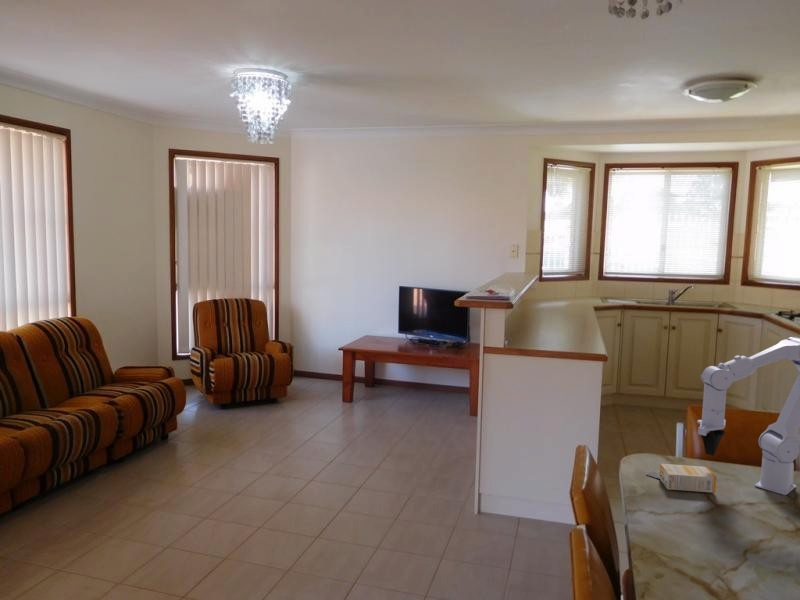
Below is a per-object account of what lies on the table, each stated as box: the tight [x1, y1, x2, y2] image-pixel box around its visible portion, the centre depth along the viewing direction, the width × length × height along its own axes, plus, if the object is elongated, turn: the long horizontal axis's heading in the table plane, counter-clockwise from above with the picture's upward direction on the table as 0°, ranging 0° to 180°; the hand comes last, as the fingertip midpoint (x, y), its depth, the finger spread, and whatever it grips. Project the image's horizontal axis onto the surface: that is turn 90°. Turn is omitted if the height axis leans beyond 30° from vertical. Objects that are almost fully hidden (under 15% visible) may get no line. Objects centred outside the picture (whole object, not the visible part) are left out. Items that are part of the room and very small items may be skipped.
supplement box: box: [659, 463, 717, 494], centre depth 170 cm, size 8×5×13 cm
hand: (710, 454), depth 171 cm, fingers closed
